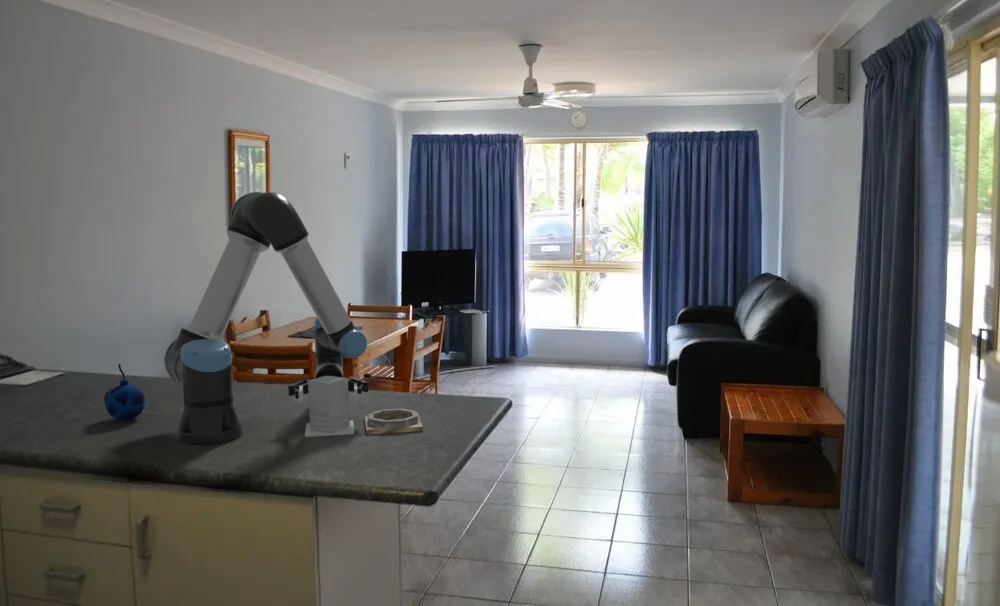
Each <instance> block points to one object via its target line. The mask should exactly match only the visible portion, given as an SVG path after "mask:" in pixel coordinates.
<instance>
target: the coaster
mask: <svg viewBox="0 0 1000 606" xmlns="http://www.w3.org/2000/svg"><path fill="white" fill-rule="evenodd" d="M346 435H355V426H354V419H353V420H350V426H348V427H345V428H343V429H339V430H336V431H333V432H326V431H320V430H315V429H310V422H306V425H305V431H304V437H305V438H312V437H328V436H329V437H330V436H332V437H333V436H346Z"/></svg>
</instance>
